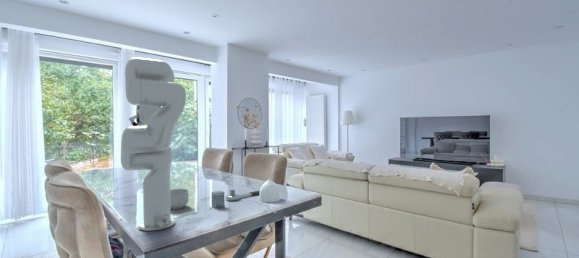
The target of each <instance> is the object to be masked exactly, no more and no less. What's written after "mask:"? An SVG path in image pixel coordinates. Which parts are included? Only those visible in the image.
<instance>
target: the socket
mask: <svg viewBox="0 0 579 258" xmlns="http://www.w3.org/2000/svg"><path fill="white" fill-rule="evenodd" d="M211 207H212V208H215V209H220V208H224V207H225V191H222V190H215V191H211ZM219 207H220V208H219Z"/></svg>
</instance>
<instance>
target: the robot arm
mask: <svg viewBox="0 0 579 258" xmlns="http://www.w3.org/2000/svg"><path fill="white" fill-rule="evenodd" d="M174 73H175V72H174V71H173V69H172V67H171V65H170V64H169V63H167V62H166V61H164V60H161V59H154V58H152V59H151V58H144V57H132V58H130V59H128V61H126V64H125V70H124V77H125V80H124V81H125V95H126V100H127V102H128V103H129V104H131V105H133V106H136V114H135V115H133V116H131V117H129V118H128V120H129V122H130V124H131V126H128V127H125V128H124V130H123V132H122V135H121V145H120V164H121V167H122V168H123V170H125V171H131V172H133V171H143V170H146V171H148V170H150V171H149V172H148V173H147V174H146V176H145V177H144V179H143V180H142V181H143V182H142V194H143V195H142V197H143V198H142V199H143V202H142V203H143V206H142V207H143V208H142V209H143V221H142V222H140V224H139V225H138V229H139V230H140V231H148V232H150V231H151V232H152V231H153V232H154V231H160V230H164V229H168V228H170V227H172V226H174V225H175V224H176V220H175V219H174V218H173V217H171V214H172V213H171V209H170V190H171V166H172V159H173V150H172V148H171V147H170V146H171V145H172V140H173V136H174V131H175V127H176V124H177V122H178V121H179V119H180V118H181V116H182V114H183V112H184V109H185V106H186V100H187V99H186V98H187V93H186V89H185V87H184V86H183V85H182V84H180V83H179V82H178V83H177V82H176V81H175V74H174ZM135 120H136V122H135Z"/></svg>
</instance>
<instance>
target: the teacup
mask: <svg viewBox="0 0 579 258" xmlns="http://www.w3.org/2000/svg"><path fill="white" fill-rule="evenodd" d="M188 202H189V189H186V188H173V189H170V210H179V209H182V208H184V207H185V206H186V205H188Z"/></svg>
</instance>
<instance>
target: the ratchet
mask: <svg viewBox="0 0 579 258" xmlns="http://www.w3.org/2000/svg"><path fill="white" fill-rule="evenodd" d="M259 193H260V189H258V190H255V191H250V192H247V193H243V194H236V190H235V189H230V190H229V194H227V195H225V201H226V202H236V201H240V200H241V199H246V198H249V197H254V196H255V197H256V196H259Z"/></svg>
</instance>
